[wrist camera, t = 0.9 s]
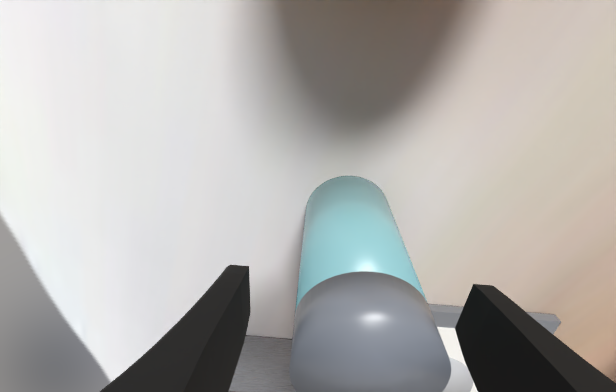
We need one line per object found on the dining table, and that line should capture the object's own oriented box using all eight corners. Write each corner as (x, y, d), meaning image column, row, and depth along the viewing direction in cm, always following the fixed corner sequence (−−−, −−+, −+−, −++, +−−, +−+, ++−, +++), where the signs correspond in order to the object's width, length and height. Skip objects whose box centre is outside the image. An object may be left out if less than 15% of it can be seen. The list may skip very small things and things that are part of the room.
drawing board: (554, 314, 17) (563, 325, 16) (479, 433, 23) (483, 444, 22) (343, 297, 17) (344, 306, 17) (323, 419, 23) (323, 430, 23)
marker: (396, 179, 14) (473, 328, 7) (380, 249, 16) (428, 425, 8) (308, 172, 14) (292, 313, 7) (303, 243, 16) (286, 412, 9)
